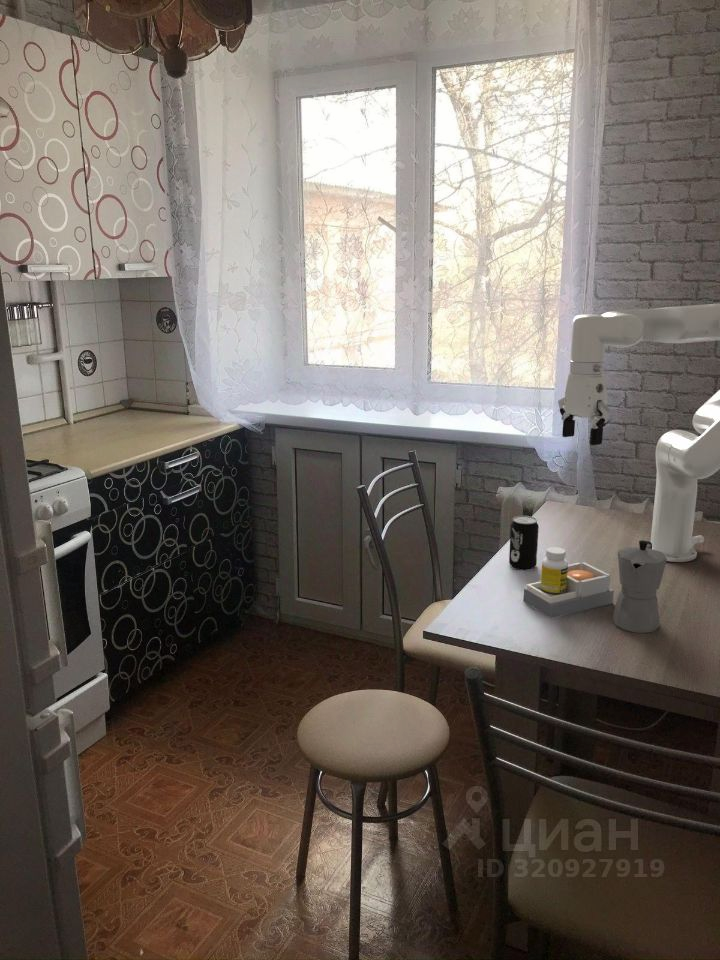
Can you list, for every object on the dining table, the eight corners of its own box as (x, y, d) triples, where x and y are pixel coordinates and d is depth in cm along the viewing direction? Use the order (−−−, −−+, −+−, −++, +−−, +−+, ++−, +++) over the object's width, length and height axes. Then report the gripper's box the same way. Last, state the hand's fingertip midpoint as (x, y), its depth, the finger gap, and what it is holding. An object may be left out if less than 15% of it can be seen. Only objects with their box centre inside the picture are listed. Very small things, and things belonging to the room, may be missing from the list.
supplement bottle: (562, 600, 164) (565, 556, 161) (537, 595, 166) (539, 552, 164) (568, 590, 169) (571, 548, 166) (543, 586, 171) (546, 544, 168)
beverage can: (536, 571, 187) (539, 524, 183) (508, 570, 188) (510, 522, 185) (536, 561, 193) (538, 515, 190) (509, 560, 194) (511, 514, 191)
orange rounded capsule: (580, 589, 175) (581, 568, 173) (597, 599, 170) (599, 577, 168) (560, 594, 172) (561, 572, 171) (577, 604, 167) (579, 581, 166)
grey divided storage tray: (582, 587, 178) (584, 560, 176) (612, 603, 169) (615, 575, 167) (523, 600, 171) (524, 573, 169) (551, 618, 162) (553, 589, 161)
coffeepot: (654, 641, 152) (663, 555, 147) (605, 631, 156) (612, 547, 152) (666, 611, 165) (674, 531, 160) (620, 602, 169) (627, 524, 165)
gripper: (625, 372, 176) (619, 446, 180) (574, 363, 191) (570, 432, 195) (600, 374, 172) (594, 449, 177) (549, 365, 187) (545, 435, 192)
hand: (581, 440), depth 186 cm, fingers open, 9 cm apart
